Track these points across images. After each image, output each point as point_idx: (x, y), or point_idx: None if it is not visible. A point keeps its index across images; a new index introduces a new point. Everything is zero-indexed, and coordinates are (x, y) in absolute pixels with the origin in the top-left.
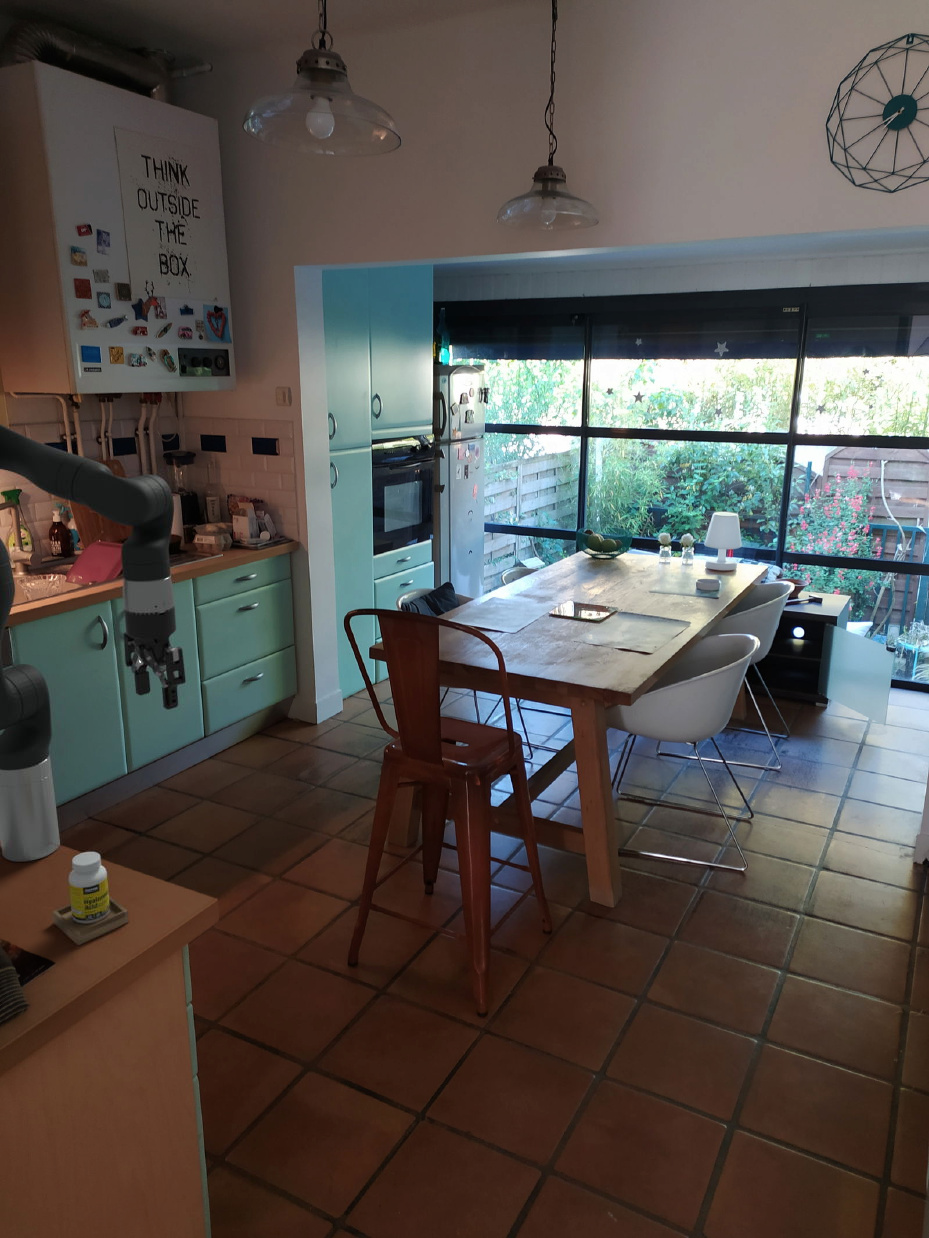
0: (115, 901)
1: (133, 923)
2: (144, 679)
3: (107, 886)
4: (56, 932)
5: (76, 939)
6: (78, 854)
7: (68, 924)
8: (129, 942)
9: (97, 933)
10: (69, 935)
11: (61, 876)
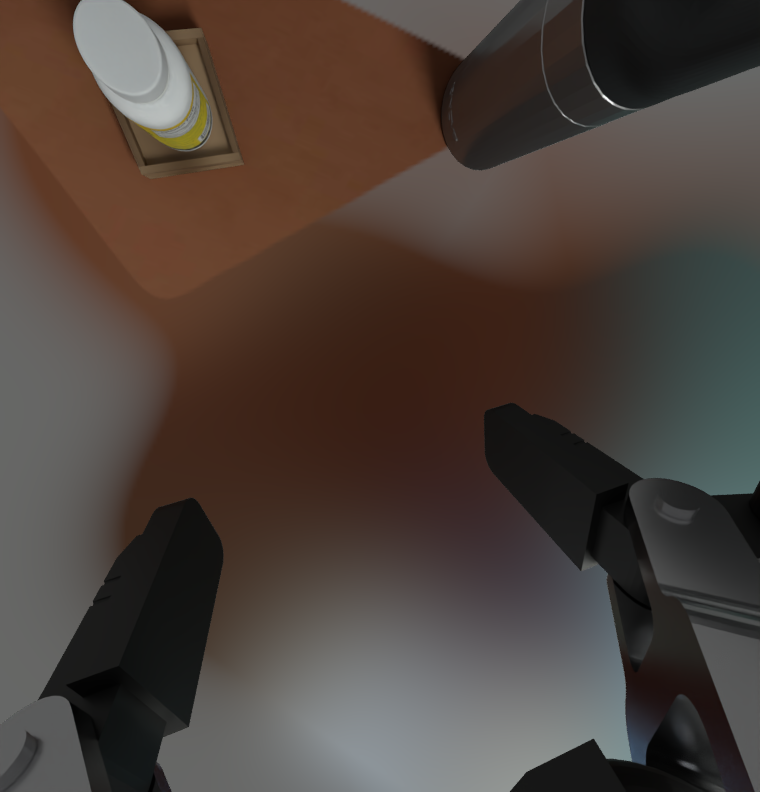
0: (187, 166)
1: (143, 184)
2: (544, 502)
3: (145, 130)
4: None
5: None
6: (151, 34)
7: None
8: (75, 152)
9: None
10: None
11: (364, 127)
